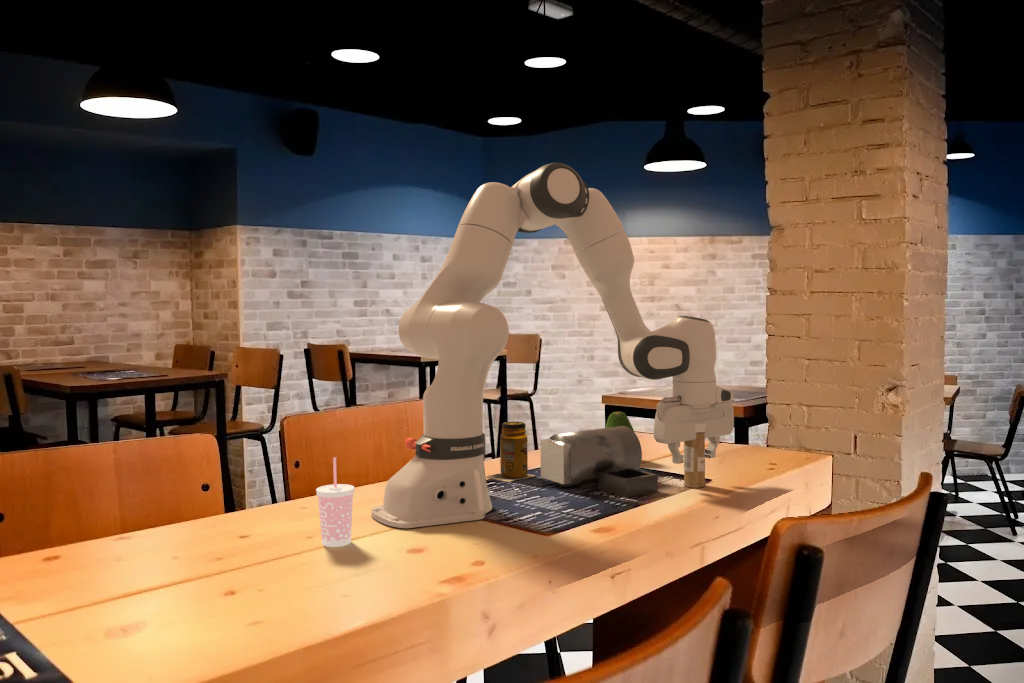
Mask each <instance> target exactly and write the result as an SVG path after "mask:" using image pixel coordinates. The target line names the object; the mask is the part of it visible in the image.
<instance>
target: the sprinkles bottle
mask: <svg viewBox="0 0 1024 683" xmlns="http://www.w3.org/2000/svg"><path fill="white" fill-rule="evenodd" d="M705 431H706V424H705V423H698V424H696V425H695V432H696V435H697V436H696V439H695V440H690V441H684V442H683V455H684V458H683V460H684V462H683V471H684V473H683V475H684V476H683V477H684V478H683V481H684V482H683V486H685V487H687V488H693V489H700V488H703V487H706V484H707V483H706V457H705V449H706V445H705V444H706V442H705V439H706V438H705V436H704V434H705Z"/></svg>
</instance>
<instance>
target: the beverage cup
mask: <svg viewBox="0 0 1024 683" xmlns="http://www.w3.org/2000/svg"><path fill="white" fill-rule="evenodd" d="M332 464H333V466H332V468H333V471H332V472H333V483H332V484H326V485H321V486H319V487H317V488H316V489H315V492H316V496H317V497H318V510H319V520H320V533H321V544H322V545H323V546H325V547H327V548H328V547H330V548H339V547H344V546H347V545H349V544H351V542H352V528H353V526H352V525H353V524H352V522H353V502H354V501H353V498H354V497H353V495H354V493H355V486H354V485H352V484H347V483H344V484H343V483H338V481H337V480H338V479H337V477H338V476H337V475H338V474H337V456H336V457H332Z"/></svg>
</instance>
